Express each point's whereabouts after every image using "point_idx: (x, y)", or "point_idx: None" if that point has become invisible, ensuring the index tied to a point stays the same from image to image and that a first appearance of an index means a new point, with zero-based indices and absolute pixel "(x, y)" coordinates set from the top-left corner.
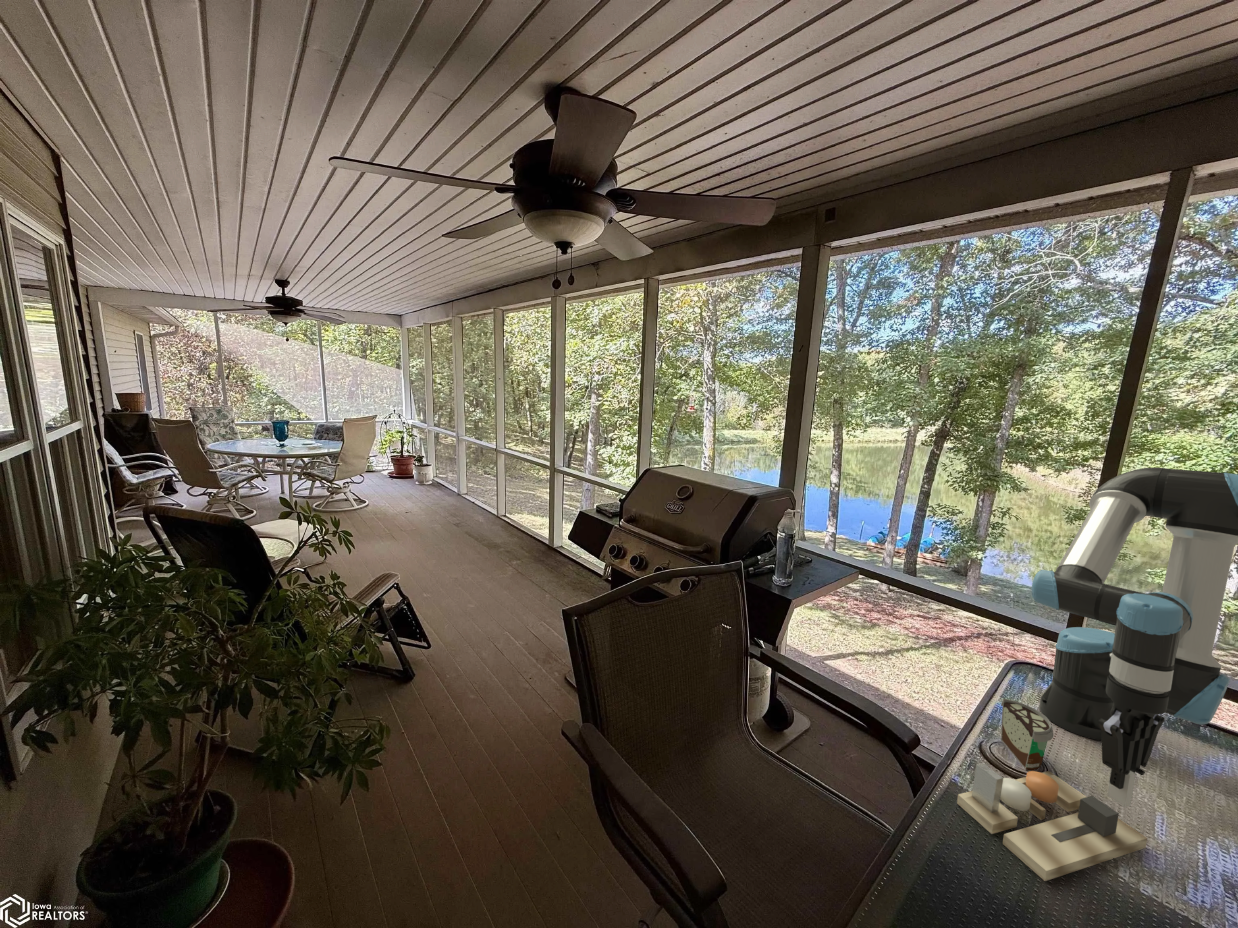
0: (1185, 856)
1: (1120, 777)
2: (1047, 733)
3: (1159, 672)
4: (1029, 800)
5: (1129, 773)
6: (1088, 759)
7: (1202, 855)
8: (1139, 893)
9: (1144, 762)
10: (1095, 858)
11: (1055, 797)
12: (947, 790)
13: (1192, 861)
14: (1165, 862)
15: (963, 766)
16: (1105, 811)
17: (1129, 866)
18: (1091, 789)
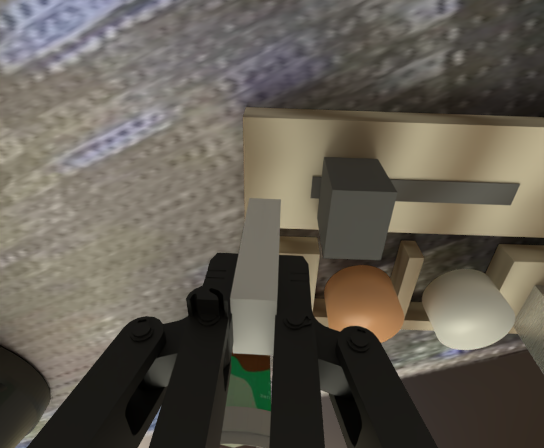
0: (158, 49)
1: (309, 299)
2: (223, 431)
3: None
4: (475, 289)
5: (265, 306)
6: (74, 313)
7: (97, 34)
8: (471, 4)
9: (146, 343)
10: (472, 120)
11: (363, 275)
12: (513, 338)
13: (157, 29)
14: (249, 54)
15: (396, 365)
16: (367, 207)
17: (374, 79)
18: (171, 261)
